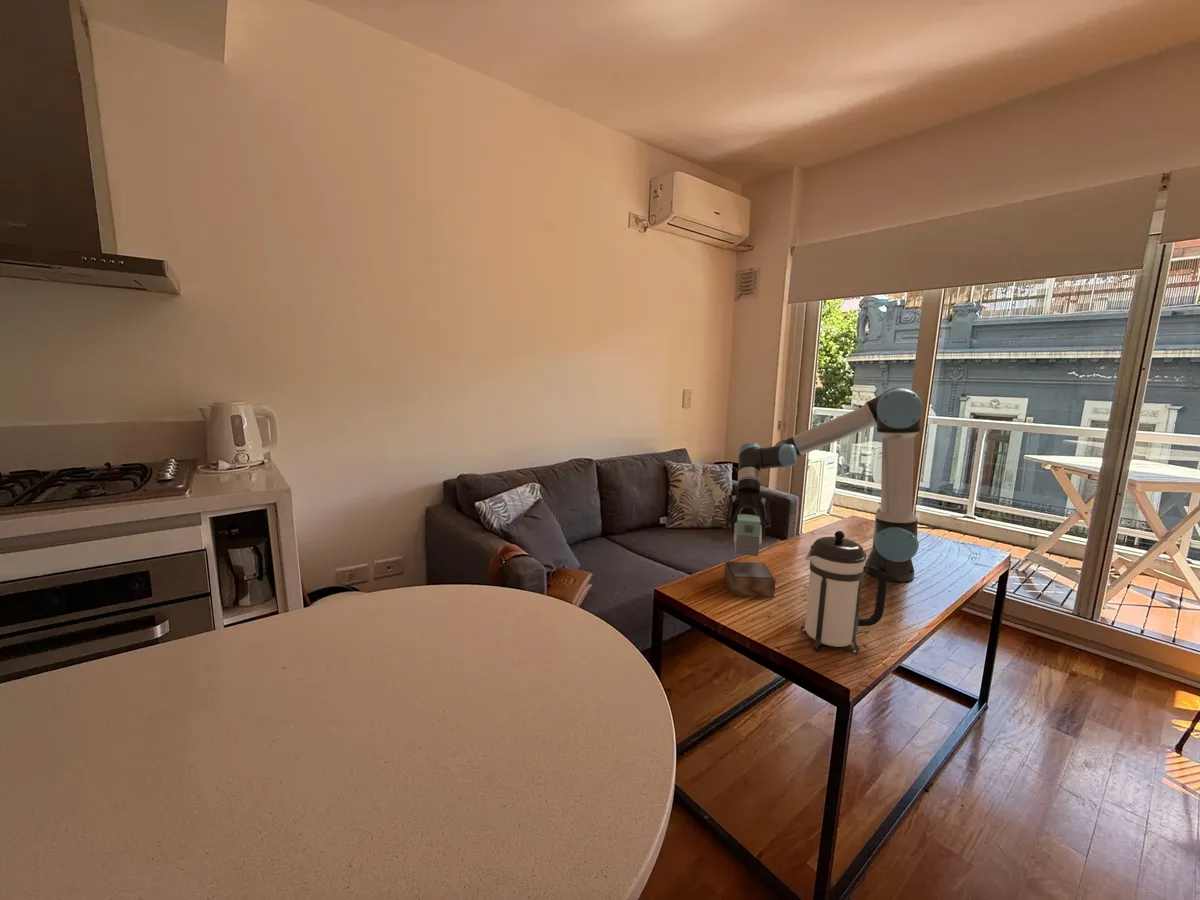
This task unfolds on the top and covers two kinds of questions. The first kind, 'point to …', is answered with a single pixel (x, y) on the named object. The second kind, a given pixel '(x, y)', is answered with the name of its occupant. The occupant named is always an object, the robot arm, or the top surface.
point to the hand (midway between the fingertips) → (747, 543)
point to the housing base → (747, 545)
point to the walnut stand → (749, 579)
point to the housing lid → (748, 525)
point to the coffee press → (838, 592)
